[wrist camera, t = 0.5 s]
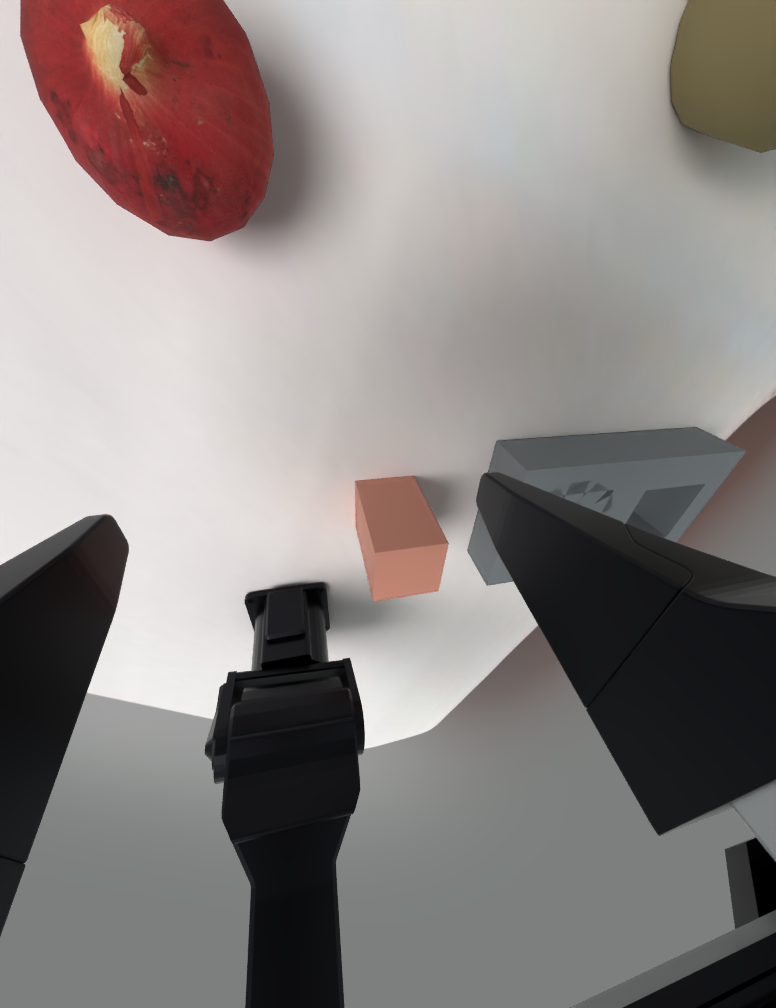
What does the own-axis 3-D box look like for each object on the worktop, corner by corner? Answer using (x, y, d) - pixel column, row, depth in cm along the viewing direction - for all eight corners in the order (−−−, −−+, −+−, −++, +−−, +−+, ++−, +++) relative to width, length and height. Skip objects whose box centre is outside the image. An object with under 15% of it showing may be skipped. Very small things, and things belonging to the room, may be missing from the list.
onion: (280, 247, 15) (276, 256, 9) (131, 227, 14) (7, 223, 8) (268, 36, 12) (247, -177, 6) (66, -19, 10) (-251, -380, 4)
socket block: (631, 528, 35) (665, 556, 32) (467, 550, 31) (487, 585, 28) (696, 427, 28) (746, 451, 25) (496, 440, 24) (526, 470, 21)
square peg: (408, 520, 27) (438, 591, 22) (355, 526, 26) (373, 601, 21) (413, 475, 25) (448, 543, 19) (355, 480, 24) (375, 552, 18)
